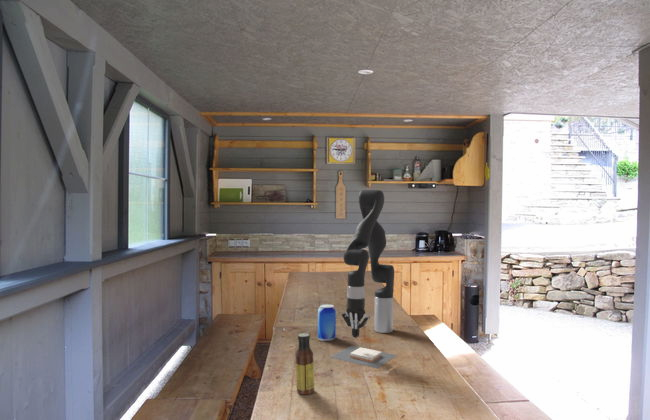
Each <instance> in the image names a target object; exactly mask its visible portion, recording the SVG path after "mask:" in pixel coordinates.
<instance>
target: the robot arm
mask: <svg viewBox="0 0 650 420" xmlns="http://www.w3.org/2000/svg"><path fill="white" fill-rule="evenodd" d="M358 205H359V210H360V213H361V217H362V220H361V221H360V222H359V224H358V225H357V226H356V228H355V232H354V234H353V237H352V240H351V241H350V243H349V244H348V246H347V248H346V249H345V251H344V253H343V257H342V258H343V262H344V263H345V264H346V265H347V266H355V267H358V268H357V269H356V270H352V271H349V272H348V274H347V289H346V311H345V312H344V313H341V317H342V318H343V320H344V322H345V323H346V325H347V327H350V329H351V336H352V337H353V338H356V339H357V338H358V337H359V336H360V329H362V328H364V327H365V325H366V324H367V323H368V322H369V321H370V320H371V317H370V316H368V315H367V314H366V310H365V307H366V289H365V277H366V270H367V267H368V263H370V271H371V278H372V280H373V282H374V283H377V284H378V283H379V284H385V286H384V287H382V288H379V289H376V290H375V291H374V312H373V313H374V318H373V319H374V321H373V322H374V331H375V332H376V333H381V334H388V333H392V332H393V331H394V289H395V288H394V286H395V268H394V266H393V264H383V263H382V264H381V263H379V259H380V256H381V255H382V254H383V251H384V250H385V249H386V246H387V237H386V230H385V229H384V227H383V226H382V225H381V224H380V222H379V221H378V219H379V217H380V214H381V212H382V210H383V208H384V205H385V194H384V192H383V191H382V190H379V189H362V190H360V191H359V194H358ZM367 248H368V251H367V250H366V249H367ZM369 261H370V262H369Z"/></svg>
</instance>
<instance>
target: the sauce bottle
mask: <svg viewBox="0 0 650 420" xmlns="http://www.w3.org/2000/svg"><path fill="white" fill-rule="evenodd" d="M310 337H311V336H310V334H309V333H306V332H302V333H299V334H297V340H298V347H297V350H296V352H295V380H296V381H295V382H296V384H295V386H296V392H297V393H298V394H300V395H305V396H306V395H311V394H313V393H314V392H315V362H314V352H313V351H312V349H311V347H310Z"/></svg>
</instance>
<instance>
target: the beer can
mask: <svg viewBox="0 0 650 420" xmlns="http://www.w3.org/2000/svg"><path fill="white" fill-rule="evenodd" d="M336 314H337V310H336V308H335V307H334V305H333V304H330V303H325V304H324V303H322V304H319V307H318V310H317V338H318V340H319V341H321V342H326V341H327V342H329V341H333V340H335V339H336V337H337V336H336V332H337V331H336V329H337V328H336V327H337V326H336V325H337V323H336V322H337V320H336V319H337V318H336V317H337V315H336Z"/></svg>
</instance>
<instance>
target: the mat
mask: <svg viewBox="0 0 650 420" xmlns="http://www.w3.org/2000/svg"><path fill="white" fill-rule="evenodd" d="M358 348H360V347H359V346H354V345H350V346H348V347H346V348H345V349H342V350H341V351H339V352H337V353H335V354H334V355H331V356H330V357H329V358H330V359H335V360H338V361H342V362H343V361H344V362H348V363H352V364H356V365H361V366H364V367H369V368H374V369H379V368H381V367H383V366H384V365H385V364H387V363H388V362H389V361H391V360H392V359H394V358H395V357H397V356H398V355H397V354H393V353H387V352H382V351H381V352H382V356H381V357H379V358H378V359H376V360H375V361H373V362H368V361H363V360H359V359H354V358H350V353H351V352H353V351H355V350H357V349H358Z"/></svg>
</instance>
